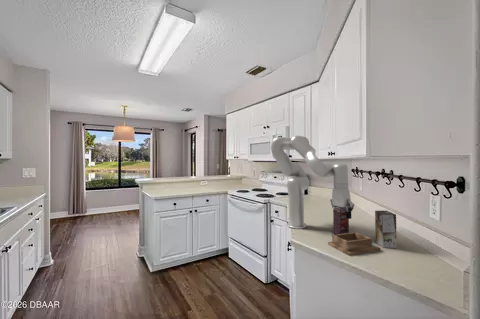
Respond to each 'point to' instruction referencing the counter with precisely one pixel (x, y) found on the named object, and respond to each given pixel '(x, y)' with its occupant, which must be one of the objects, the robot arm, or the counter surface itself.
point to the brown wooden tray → (353, 243)
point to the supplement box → (340, 221)
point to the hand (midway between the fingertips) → (342, 216)
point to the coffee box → (385, 229)
